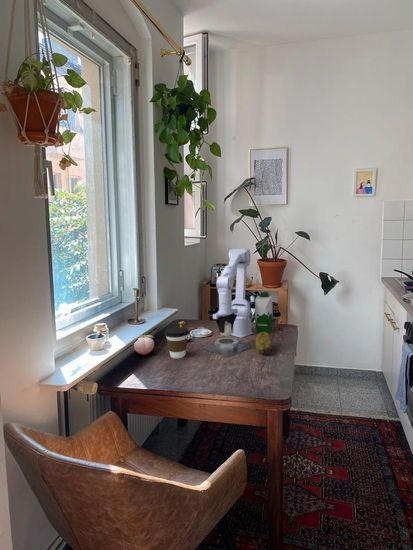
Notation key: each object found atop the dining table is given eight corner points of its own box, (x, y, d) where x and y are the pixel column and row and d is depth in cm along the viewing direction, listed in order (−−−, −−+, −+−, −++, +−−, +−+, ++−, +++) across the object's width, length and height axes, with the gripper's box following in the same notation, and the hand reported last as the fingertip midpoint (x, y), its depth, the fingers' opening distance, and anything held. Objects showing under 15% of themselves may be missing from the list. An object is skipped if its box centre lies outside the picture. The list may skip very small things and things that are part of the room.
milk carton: (273, 328, 217) (273, 292, 214) (271, 333, 208) (270, 295, 205) (257, 327, 220) (256, 291, 216) (254, 332, 211) (253, 295, 208)
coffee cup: (186, 361, 175) (185, 334, 173) (162, 359, 177) (161, 333, 175) (192, 352, 186) (191, 326, 184) (169, 351, 188) (168, 326, 186)
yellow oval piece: (251, 355, 179) (250, 337, 178) (257, 345, 191) (257, 329, 190) (269, 357, 176) (269, 339, 175) (275, 347, 188) (275, 330, 187)
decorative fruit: (152, 350, 190) (150, 329, 188) (156, 355, 182) (155, 334, 181) (132, 353, 187) (130, 332, 185) (135, 359, 179) (134, 337, 178)
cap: (225, 332, 191) (225, 321, 190) (233, 334, 187) (233, 322, 187) (218, 334, 188) (217, 323, 187) (225, 336, 184) (225, 325, 183)
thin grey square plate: (225, 340, 200) (225, 333, 199) (251, 348, 188) (250, 340, 188) (202, 349, 189) (201, 341, 188) (227, 357, 178) (227, 349, 177)
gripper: (229, 298, 193) (230, 326, 195) (207, 303, 183) (208, 333, 185) (240, 300, 188) (241, 328, 190) (219, 306, 178) (219, 336, 180)
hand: (226, 331), depth 187 cm, fingers closed on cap, 5 cm apart
